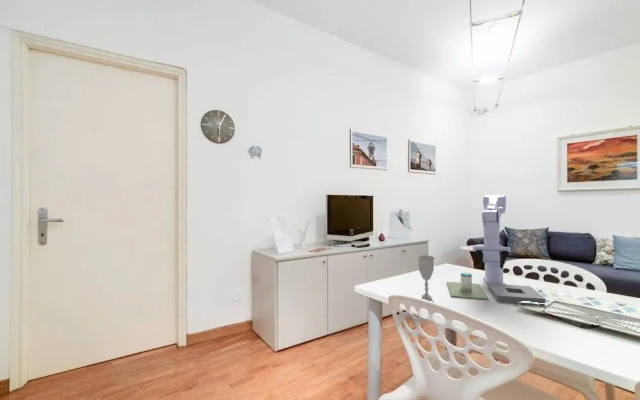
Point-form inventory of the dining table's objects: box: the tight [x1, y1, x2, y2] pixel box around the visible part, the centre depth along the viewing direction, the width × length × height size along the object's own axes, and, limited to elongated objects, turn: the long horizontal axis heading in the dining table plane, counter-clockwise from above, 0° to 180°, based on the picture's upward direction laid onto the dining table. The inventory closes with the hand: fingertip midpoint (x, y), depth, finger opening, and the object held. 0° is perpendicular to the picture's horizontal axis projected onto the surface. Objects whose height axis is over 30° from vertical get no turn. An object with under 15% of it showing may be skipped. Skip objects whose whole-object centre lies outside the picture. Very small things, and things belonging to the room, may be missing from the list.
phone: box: [561, 319, 593, 329], centre depth 100 cm, size 8×1×15 cm
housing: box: [488, 283, 546, 304], centre depth 121 cm, size 16×16×2 cm
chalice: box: [417, 255, 435, 303], centre depth 118 cm, size 7×7×18 cm
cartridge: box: [460, 272, 473, 291], centre depth 129 cm, size 4×4×7 cm
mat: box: [446, 281, 490, 301], centre depth 129 cm, size 20×14×1 cm
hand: (491, 267), depth 128 cm, fingers open, 7 cm apart
